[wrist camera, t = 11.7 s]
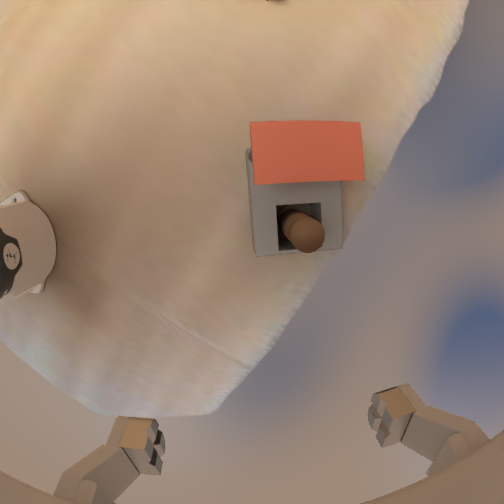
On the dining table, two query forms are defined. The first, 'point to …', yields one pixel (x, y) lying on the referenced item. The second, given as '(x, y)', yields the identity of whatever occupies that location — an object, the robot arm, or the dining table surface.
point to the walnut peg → (301, 230)
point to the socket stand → (300, 176)
